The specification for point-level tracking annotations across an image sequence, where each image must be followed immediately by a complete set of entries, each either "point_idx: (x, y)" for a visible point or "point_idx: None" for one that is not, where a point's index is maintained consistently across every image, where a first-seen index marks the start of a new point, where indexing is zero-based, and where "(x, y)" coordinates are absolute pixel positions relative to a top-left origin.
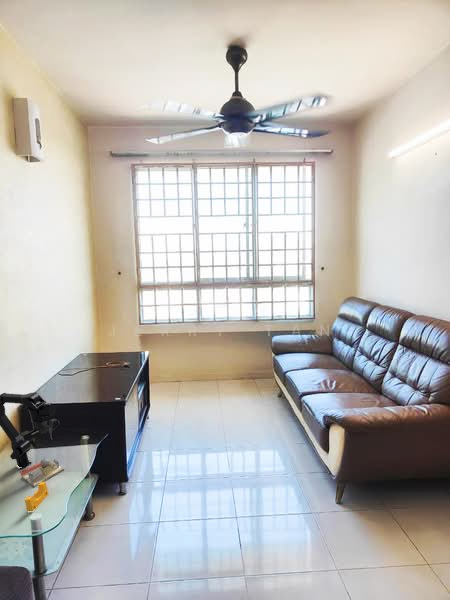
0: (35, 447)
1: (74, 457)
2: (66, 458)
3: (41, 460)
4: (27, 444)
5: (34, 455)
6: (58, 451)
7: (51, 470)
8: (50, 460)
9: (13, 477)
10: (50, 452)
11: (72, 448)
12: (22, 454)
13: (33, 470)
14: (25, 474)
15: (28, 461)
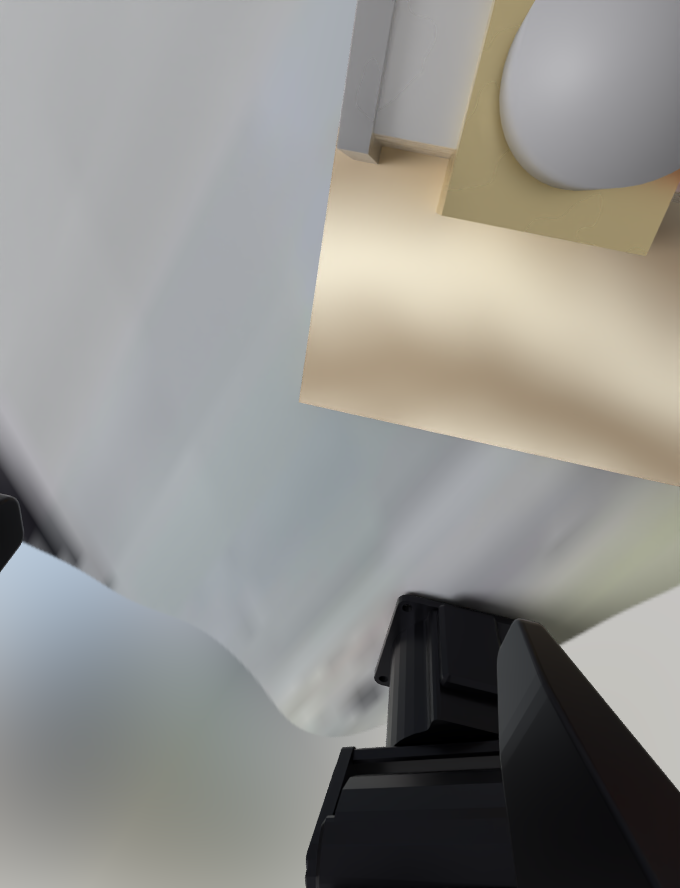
0: (534, 638)
1: (76, 87)
2: (157, 221)
3: (658, 174)
4: (386, 871)
5: (289, 673)
6: (131, 493)
7: None
8: (300, 395)
9: (669, 578)
10: (187, 565)
11: (3, 369)
12: (466, 761)
13: (547, 428)
14: (649, 458)
15: (413, 637)
